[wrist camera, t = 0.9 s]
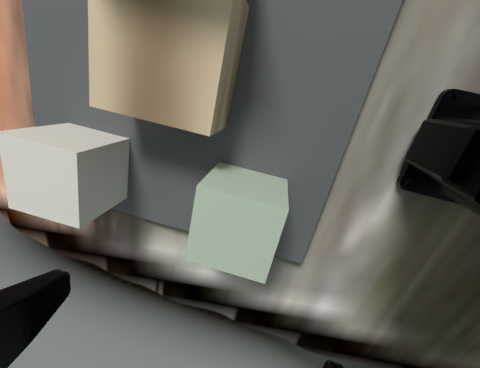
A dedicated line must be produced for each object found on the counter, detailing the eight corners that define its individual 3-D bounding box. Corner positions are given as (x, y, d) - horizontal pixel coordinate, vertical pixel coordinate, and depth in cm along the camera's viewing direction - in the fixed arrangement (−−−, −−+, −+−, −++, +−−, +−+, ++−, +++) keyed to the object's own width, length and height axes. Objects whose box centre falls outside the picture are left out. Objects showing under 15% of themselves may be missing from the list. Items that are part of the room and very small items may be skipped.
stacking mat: (414, -45, 13) (655, -304, 5) (300, 256, 20) (312, 369, 12) (27, -113, 15) (-310, -389, 6) (51, 185, 22) (-91, 239, 14)
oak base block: (249, 7, 14) (236, -25, 10) (226, 127, 17) (209, 136, 13) (136, -16, 15) (87, -54, 11) (131, 104, 17) (89, 106, 13)
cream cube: (129, 138, 18) (76, 152, 13) (126, 198, 20) (79, 228, 15) (68, 122, 18) (-4, 131, 14) (71, 182, 20) (8, 207, 16)
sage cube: (287, 179, 17) (289, 210, 12) (269, 238, 19) (264, 283, 14) (219, 161, 18) (196, 185, 13) (208, 220, 19) (184, 260, 15)
